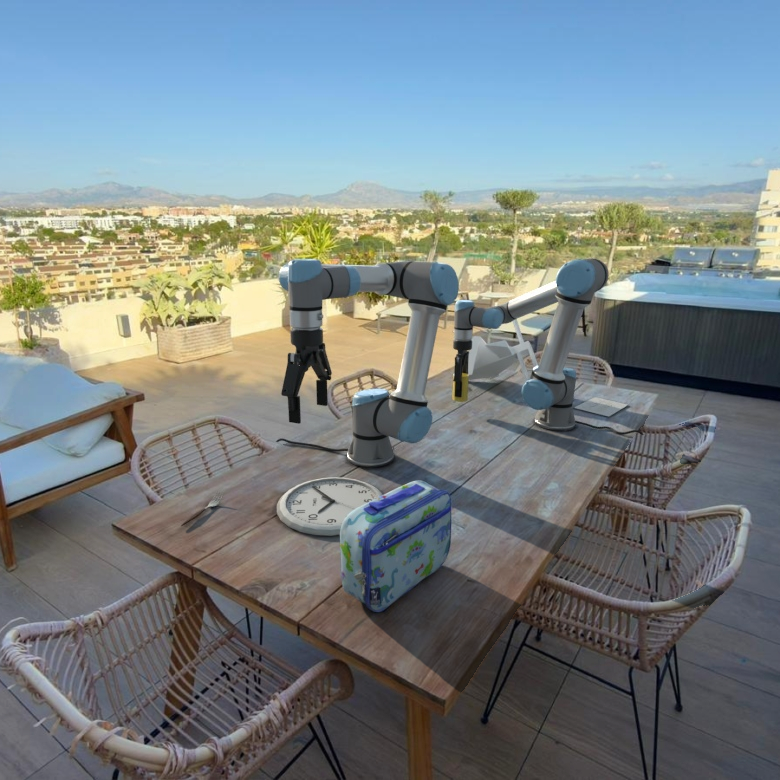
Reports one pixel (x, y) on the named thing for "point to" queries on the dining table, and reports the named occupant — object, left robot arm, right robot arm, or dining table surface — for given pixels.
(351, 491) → the wall clock
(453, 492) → the dining table surface
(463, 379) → the can
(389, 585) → the lunch box
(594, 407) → the invitation card
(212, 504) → the fork
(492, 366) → the white plastic object
